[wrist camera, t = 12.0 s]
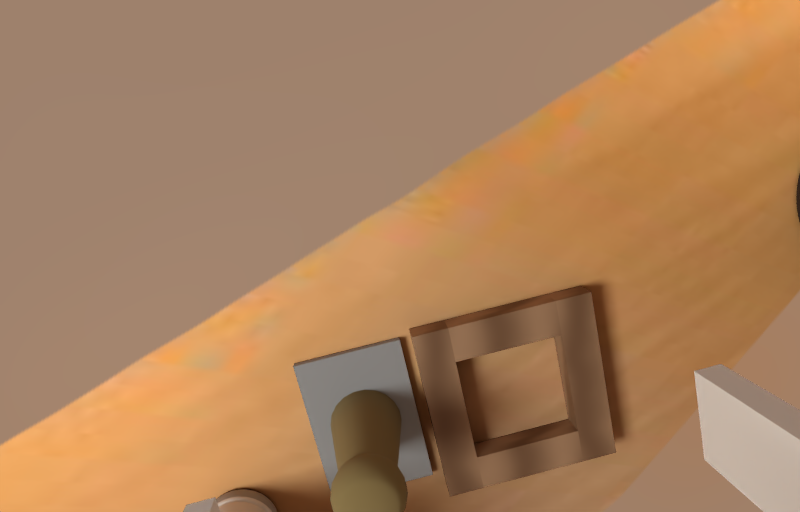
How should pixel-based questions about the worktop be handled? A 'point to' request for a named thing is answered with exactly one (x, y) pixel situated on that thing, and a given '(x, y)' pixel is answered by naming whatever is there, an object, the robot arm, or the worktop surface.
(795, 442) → the robot arm
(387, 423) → the cork
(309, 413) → the grey mat
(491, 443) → the walnut holder
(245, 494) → the travel mug
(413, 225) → the worktop surface
